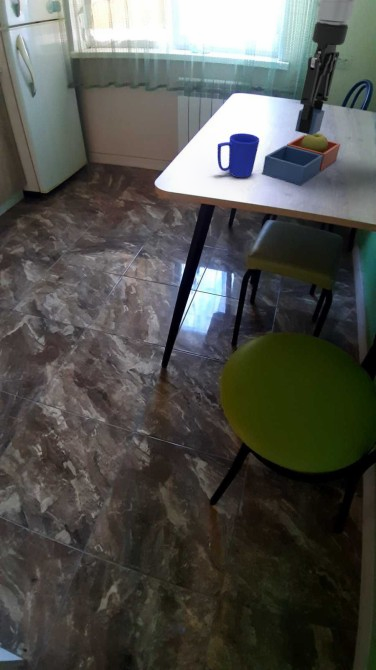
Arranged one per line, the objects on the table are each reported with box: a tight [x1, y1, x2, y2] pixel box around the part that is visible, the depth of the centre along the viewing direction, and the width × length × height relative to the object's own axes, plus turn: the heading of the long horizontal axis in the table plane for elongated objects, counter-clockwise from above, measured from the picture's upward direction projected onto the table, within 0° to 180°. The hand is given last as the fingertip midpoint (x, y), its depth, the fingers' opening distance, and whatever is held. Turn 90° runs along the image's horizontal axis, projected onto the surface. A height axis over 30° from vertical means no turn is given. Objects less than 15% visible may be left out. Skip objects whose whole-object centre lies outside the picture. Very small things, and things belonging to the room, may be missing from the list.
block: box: [294, 108, 325, 135], centre depth 109 cm, size 5×5×5 cm
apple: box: [301, 132, 329, 153], centre depth 127 cm, size 8×8×7 cm
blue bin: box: [261, 144, 323, 186], centre depth 120 cm, size 12×12×5 cm
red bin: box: [286, 134, 341, 173], centre depth 128 cm, size 12×12×5 cm
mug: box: [217, 132, 260, 178], centre depth 116 cm, size 8×12×10 cm
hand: (307, 129), depth 111 cm, fingers closed on block, 5 cm apart
